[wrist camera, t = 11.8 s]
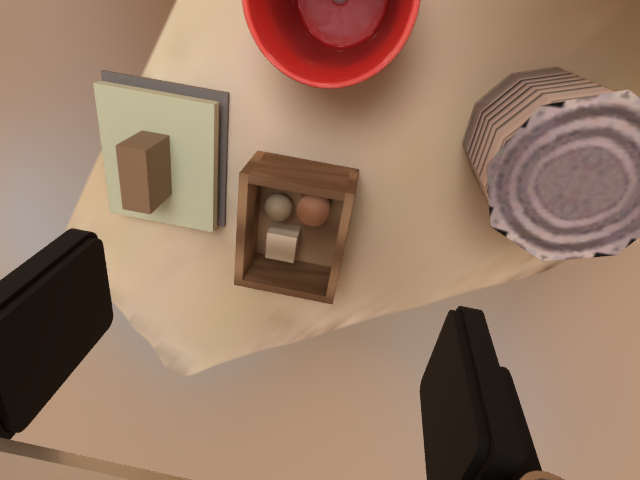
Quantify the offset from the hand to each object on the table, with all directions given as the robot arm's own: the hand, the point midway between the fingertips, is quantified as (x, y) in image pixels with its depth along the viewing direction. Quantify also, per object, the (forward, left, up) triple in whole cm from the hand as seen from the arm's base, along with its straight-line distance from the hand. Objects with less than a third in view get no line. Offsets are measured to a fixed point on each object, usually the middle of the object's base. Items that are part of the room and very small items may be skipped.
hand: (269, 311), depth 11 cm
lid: (+9, -17, -29) cm, 35 cm away
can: (+1, +16, -31) cm, 34 cm away
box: (+13, -3, -30) cm, 33 cm away
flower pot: (-7, -2, -30) cm, 31 cm away
